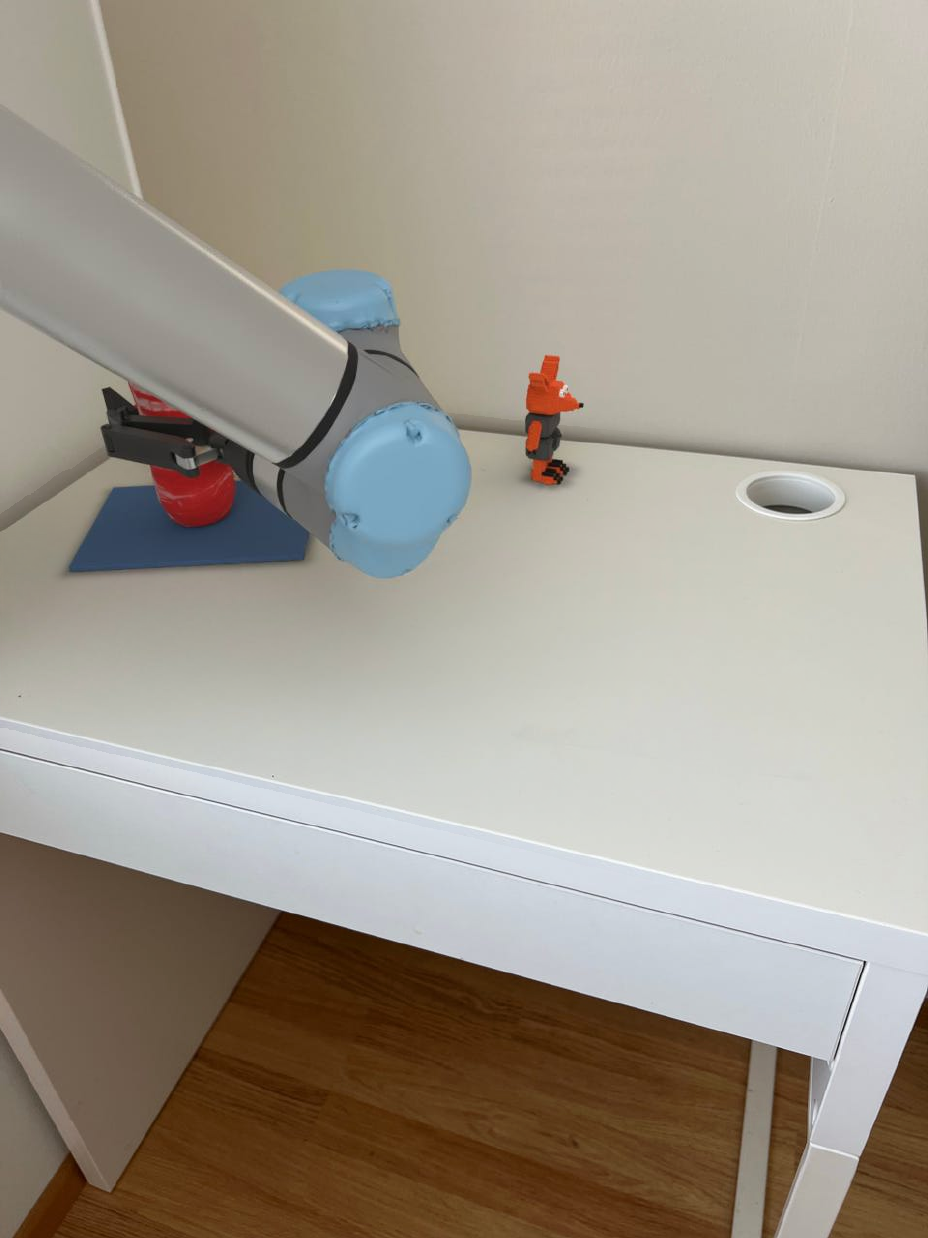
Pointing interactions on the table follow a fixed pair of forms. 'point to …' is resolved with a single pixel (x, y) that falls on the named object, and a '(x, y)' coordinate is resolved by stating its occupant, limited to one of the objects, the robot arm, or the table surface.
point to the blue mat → (186, 534)
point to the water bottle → (188, 496)
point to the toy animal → (546, 421)
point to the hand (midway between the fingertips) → (181, 381)
